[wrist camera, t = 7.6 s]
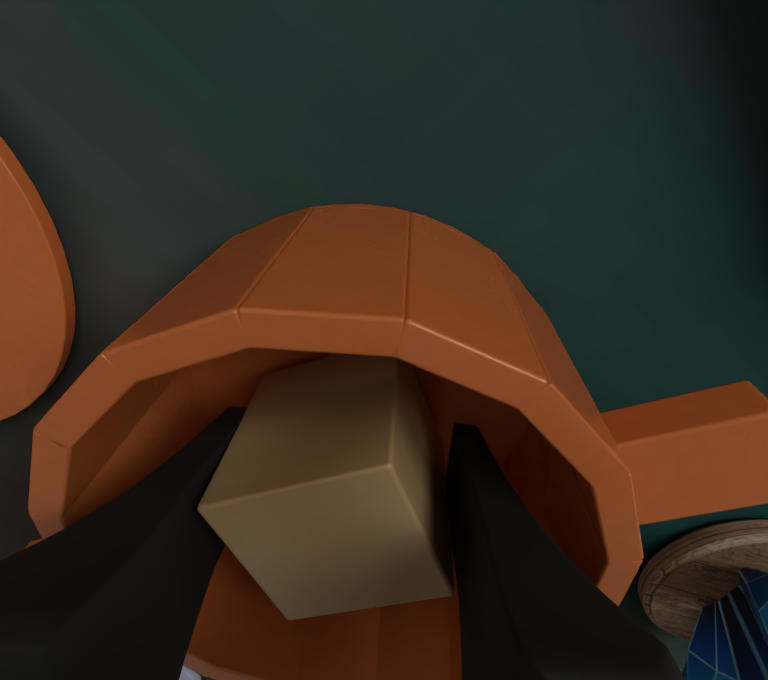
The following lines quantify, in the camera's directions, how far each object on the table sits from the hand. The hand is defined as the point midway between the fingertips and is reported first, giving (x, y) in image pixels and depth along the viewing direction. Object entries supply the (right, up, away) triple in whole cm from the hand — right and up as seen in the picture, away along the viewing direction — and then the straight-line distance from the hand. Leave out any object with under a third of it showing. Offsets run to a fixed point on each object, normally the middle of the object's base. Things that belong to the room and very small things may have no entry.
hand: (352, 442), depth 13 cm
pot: (0, +1, +2) cm, 2 cm away
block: (0, +1, +1) cm, 1 cm away
